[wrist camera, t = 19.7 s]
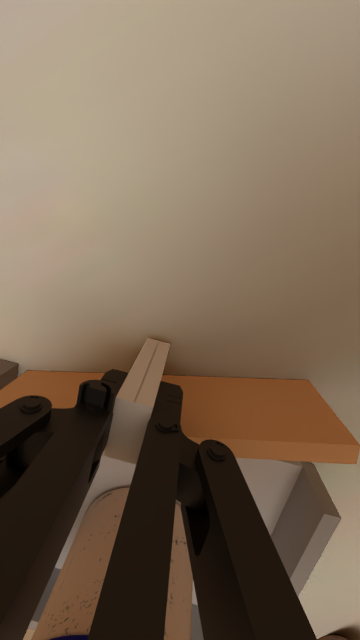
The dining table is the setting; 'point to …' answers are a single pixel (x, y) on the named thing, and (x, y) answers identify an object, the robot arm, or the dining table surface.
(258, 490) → the grey tray
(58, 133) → the dining table surface
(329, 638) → the tin
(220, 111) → the dining table surface
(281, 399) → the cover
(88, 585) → the teacup with lid
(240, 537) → the robot arm
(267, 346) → the dining table surface
